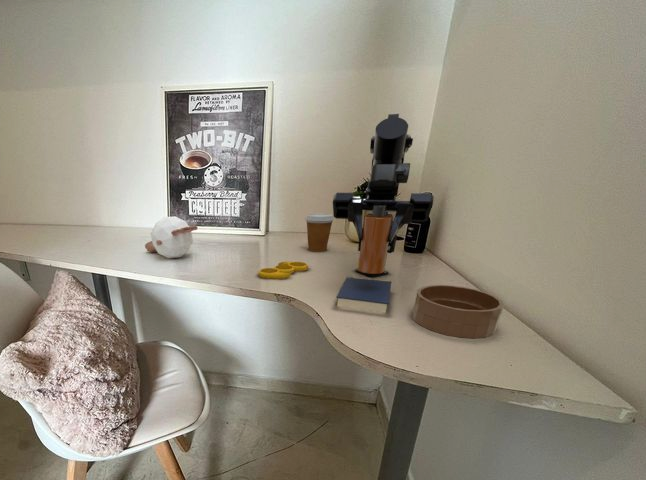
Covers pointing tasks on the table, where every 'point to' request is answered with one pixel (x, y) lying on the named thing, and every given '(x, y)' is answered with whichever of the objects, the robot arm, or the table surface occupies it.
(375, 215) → the amber bottle
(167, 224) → the stuffed white mouse
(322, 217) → the disposable coffee cup
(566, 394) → the table surface
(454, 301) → the wooden bowl
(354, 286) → the book
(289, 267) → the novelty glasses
